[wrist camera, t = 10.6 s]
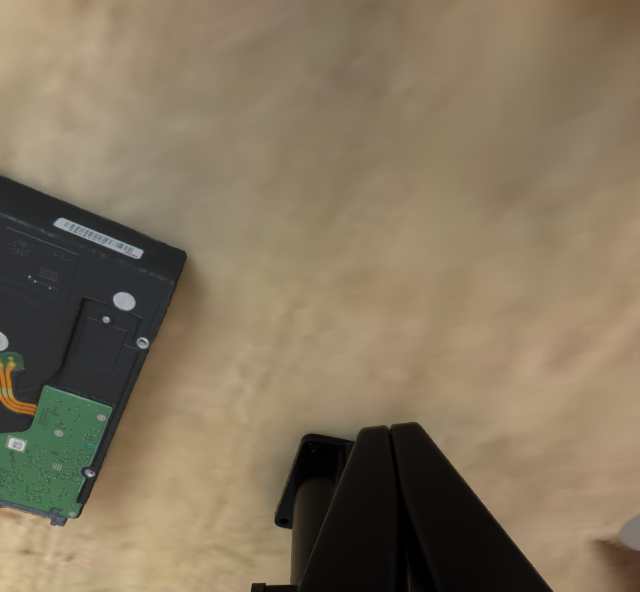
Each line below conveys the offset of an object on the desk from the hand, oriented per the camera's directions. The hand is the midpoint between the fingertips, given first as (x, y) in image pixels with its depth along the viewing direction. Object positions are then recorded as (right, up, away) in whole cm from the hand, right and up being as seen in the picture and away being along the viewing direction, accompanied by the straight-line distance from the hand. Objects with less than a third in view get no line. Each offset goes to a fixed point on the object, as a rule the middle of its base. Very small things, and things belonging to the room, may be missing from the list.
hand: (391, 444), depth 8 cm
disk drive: (-14, 0, +15) cm, 20 cm away
